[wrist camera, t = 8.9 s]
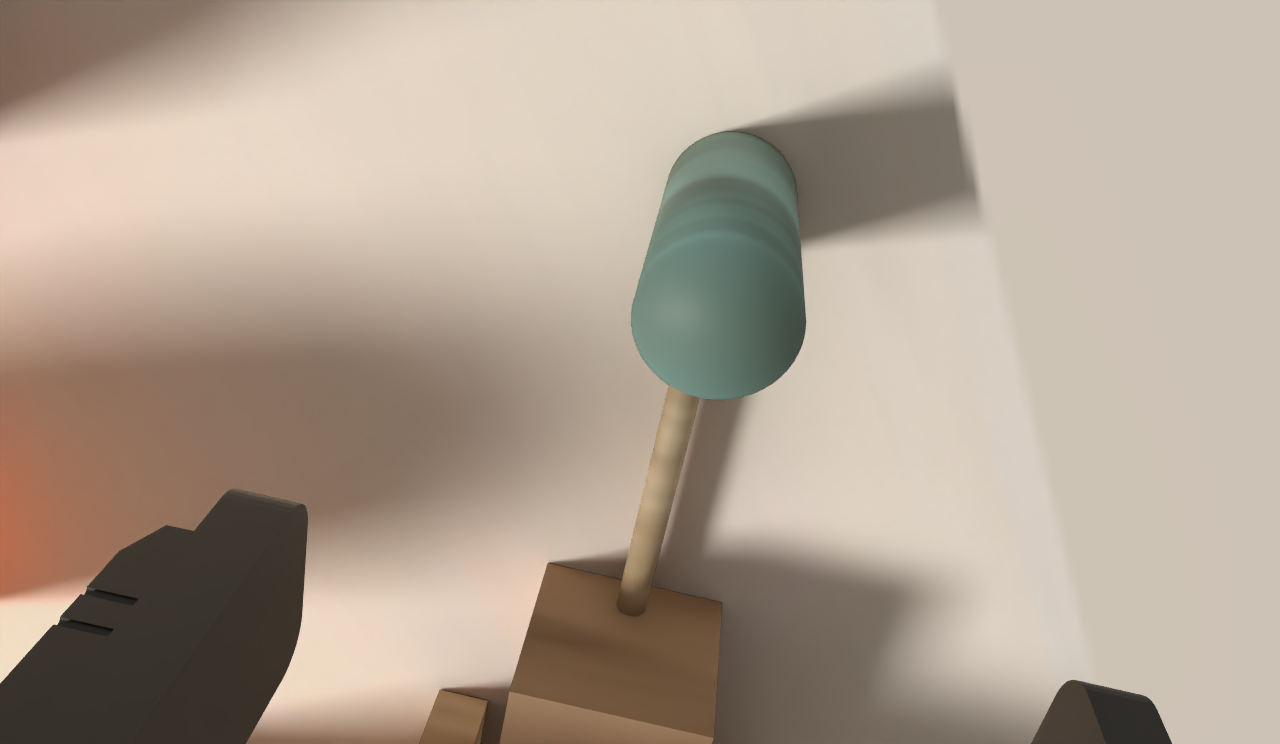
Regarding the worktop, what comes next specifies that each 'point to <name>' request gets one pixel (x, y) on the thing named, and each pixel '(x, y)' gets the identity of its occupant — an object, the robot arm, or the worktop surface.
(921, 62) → the worktop surface
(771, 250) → the tethered block
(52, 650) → the robot arm
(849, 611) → the worktop surface
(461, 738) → the box
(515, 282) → the worktop surface
